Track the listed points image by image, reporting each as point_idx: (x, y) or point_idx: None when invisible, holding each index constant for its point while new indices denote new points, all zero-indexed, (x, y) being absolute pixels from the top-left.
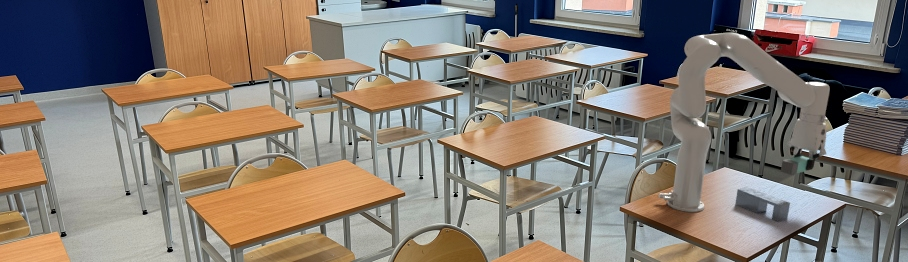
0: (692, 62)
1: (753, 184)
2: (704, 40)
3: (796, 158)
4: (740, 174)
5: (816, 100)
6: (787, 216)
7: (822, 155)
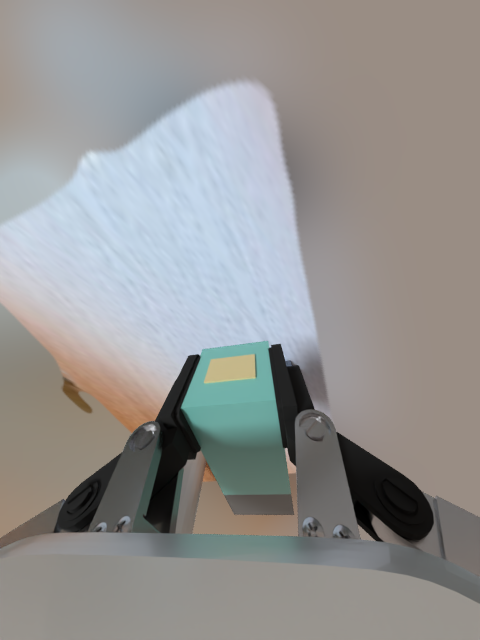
0: None
1: (78, 270)
2: None
3: (226, 464)
4: None
5: None
6: (291, 364)
7: (468, 525)
